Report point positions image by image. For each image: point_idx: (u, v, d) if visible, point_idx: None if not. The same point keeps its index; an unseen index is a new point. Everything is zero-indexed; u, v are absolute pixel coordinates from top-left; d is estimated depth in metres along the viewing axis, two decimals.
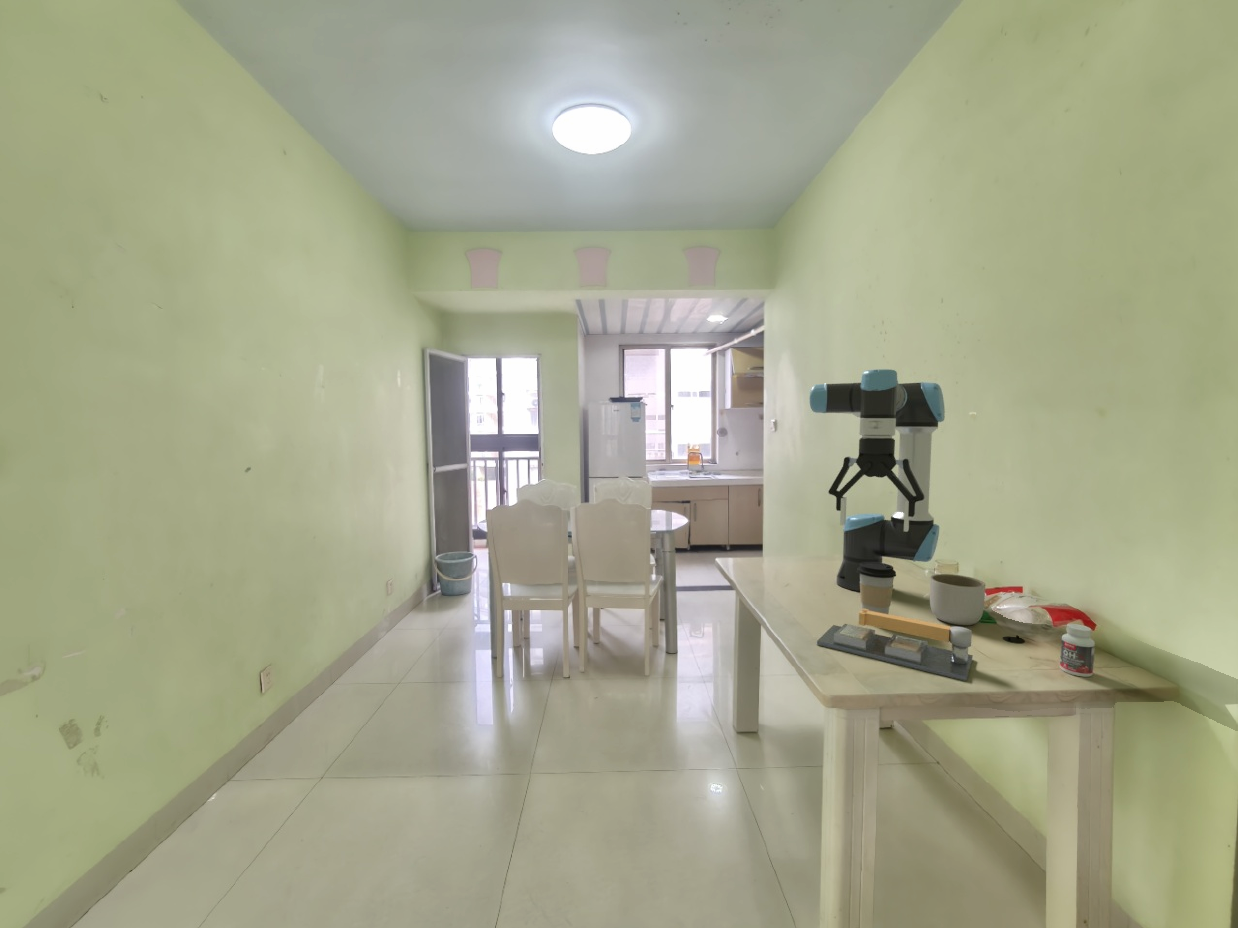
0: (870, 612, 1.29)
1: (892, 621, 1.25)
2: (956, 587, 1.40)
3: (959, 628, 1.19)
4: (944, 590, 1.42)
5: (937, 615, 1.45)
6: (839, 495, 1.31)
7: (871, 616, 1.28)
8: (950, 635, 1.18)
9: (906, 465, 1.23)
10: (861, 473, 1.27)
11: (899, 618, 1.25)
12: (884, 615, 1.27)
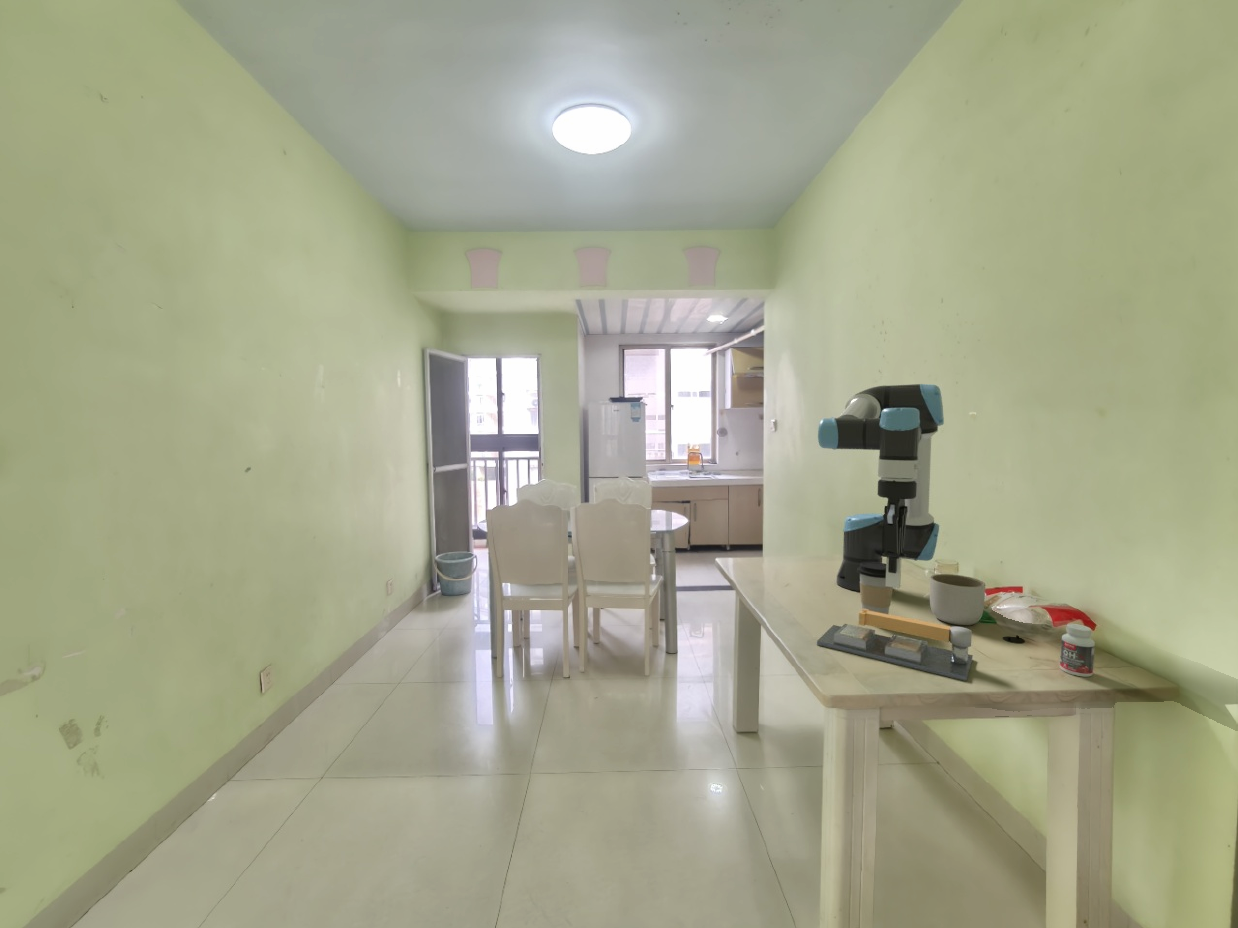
0: (870, 612, 1.29)
1: (892, 621, 1.25)
2: (956, 587, 1.40)
3: (959, 628, 1.19)
4: (944, 590, 1.42)
5: (937, 615, 1.45)
6: (899, 555, 1.18)
7: (871, 616, 1.28)
8: (950, 635, 1.18)
9: (906, 514, 1.22)
10: (903, 521, 1.17)
11: (899, 618, 1.25)
12: (884, 615, 1.27)
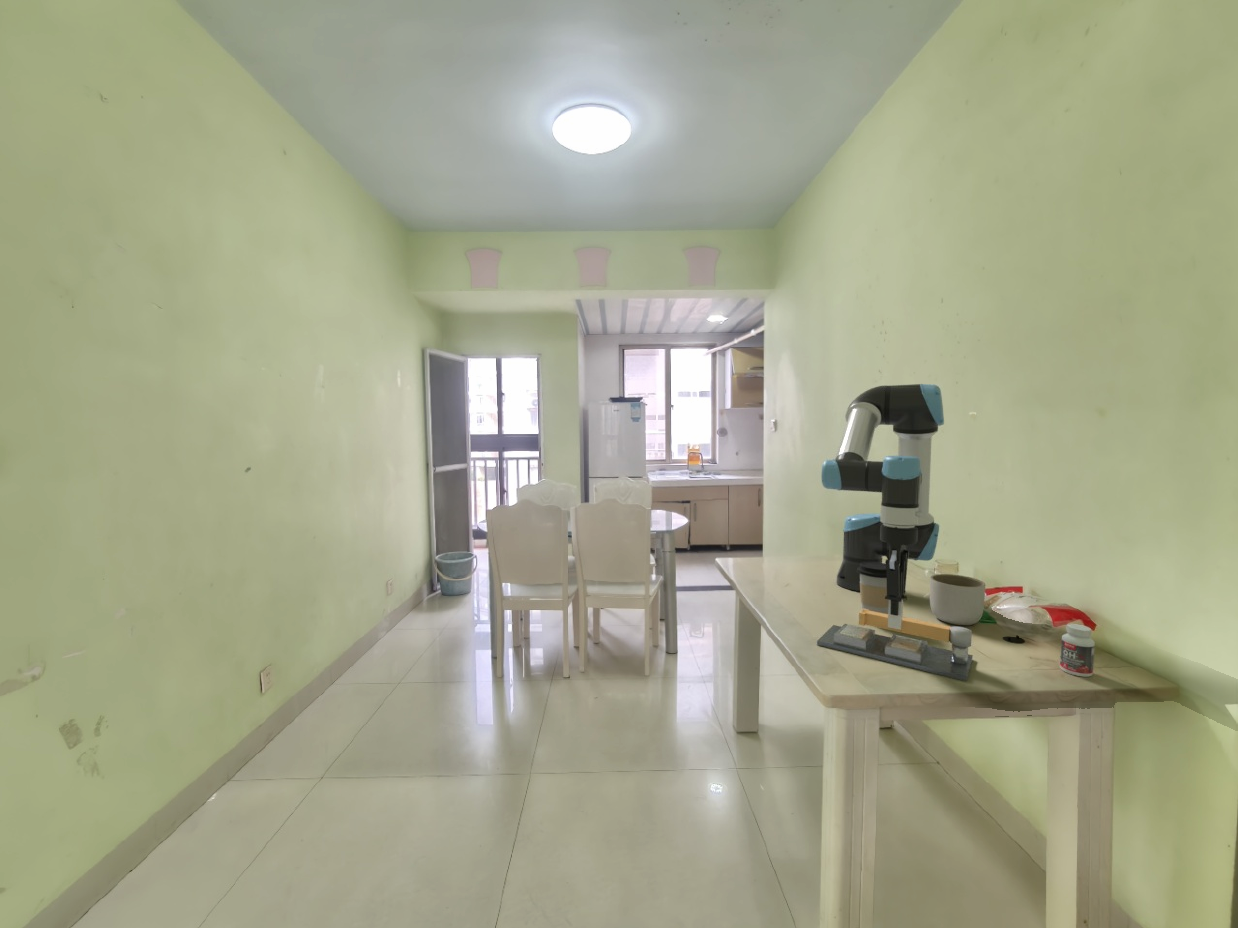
0: (870, 612, 1.29)
1: None
2: (956, 587, 1.40)
3: (959, 628, 1.19)
4: (944, 590, 1.42)
5: (937, 615, 1.45)
6: (901, 598, 1.22)
7: (871, 616, 1.28)
8: (950, 635, 1.18)
9: None
10: (904, 566, 1.21)
11: None
12: (884, 615, 1.27)
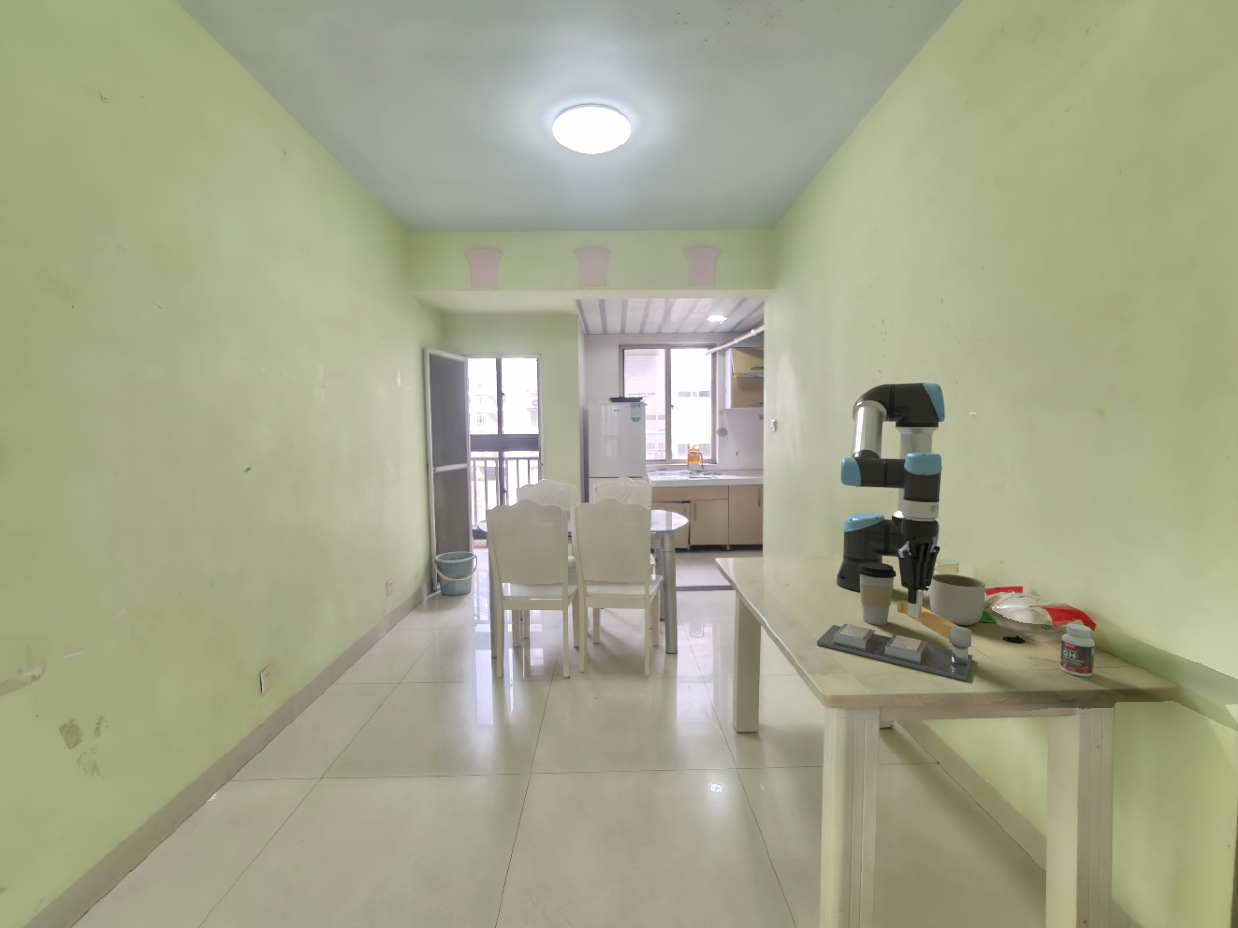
0: None
1: None
2: (956, 587, 1.40)
3: (963, 629, 1.18)
4: (944, 590, 1.42)
5: None
6: (918, 588, 1.28)
7: (906, 605, 1.35)
8: None
9: (937, 552, 1.30)
10: (921, 557, 1.27)
11: (925, 611, 1.30)
12: None
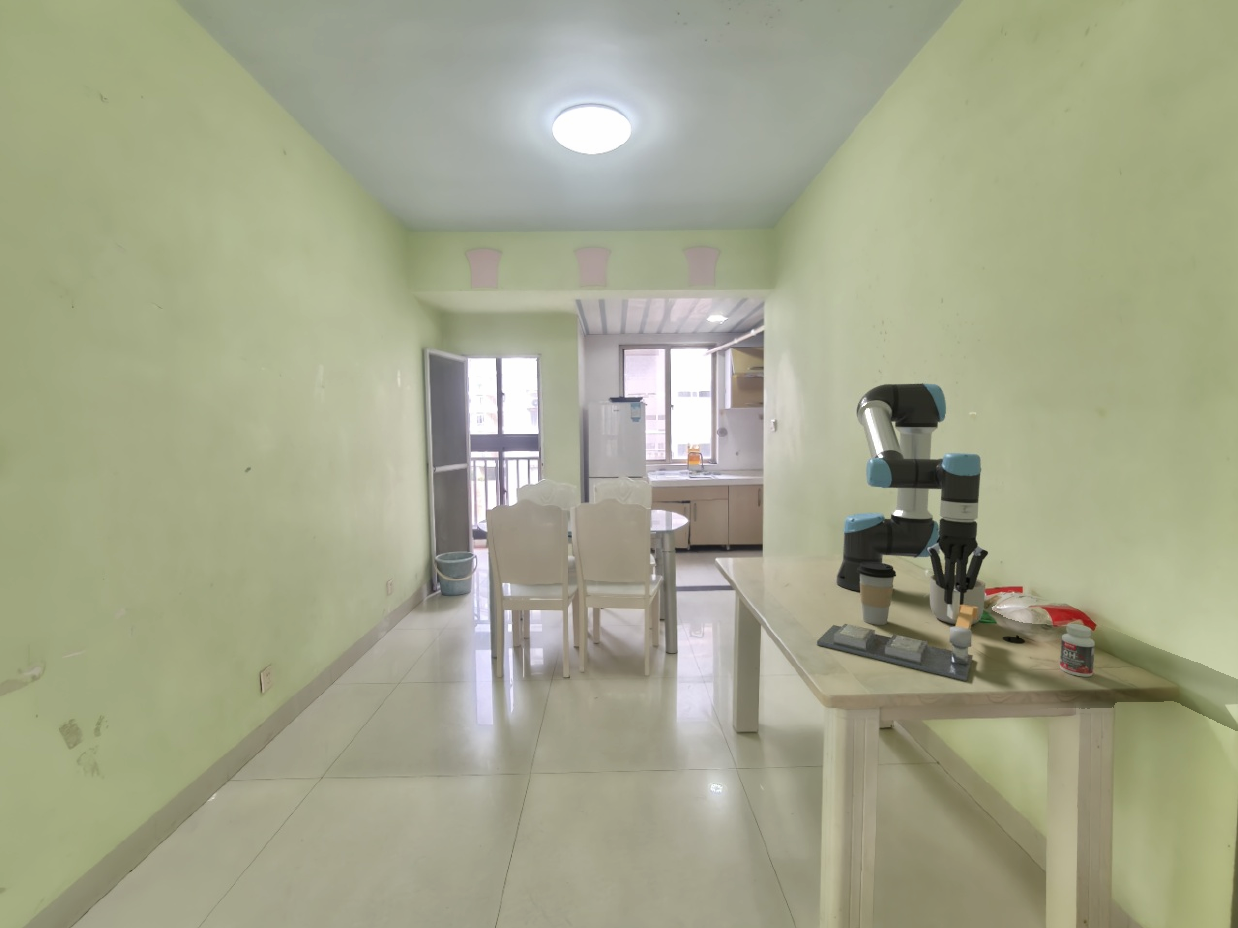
0: (968, 607, 1.32)
1: (959, 614, 1.29)
2: None
3: (965, 630, 1.18)
4: None
5: (937, 615, 1.45)
6: (952, 588, 1.28)
7: (961, 609, 1.33)
8: None
9: (983, 556, 1.27)
10: (954, 558, 1.27)
11: (964, 614, 1.27)
12: (966, 611, 1.30)
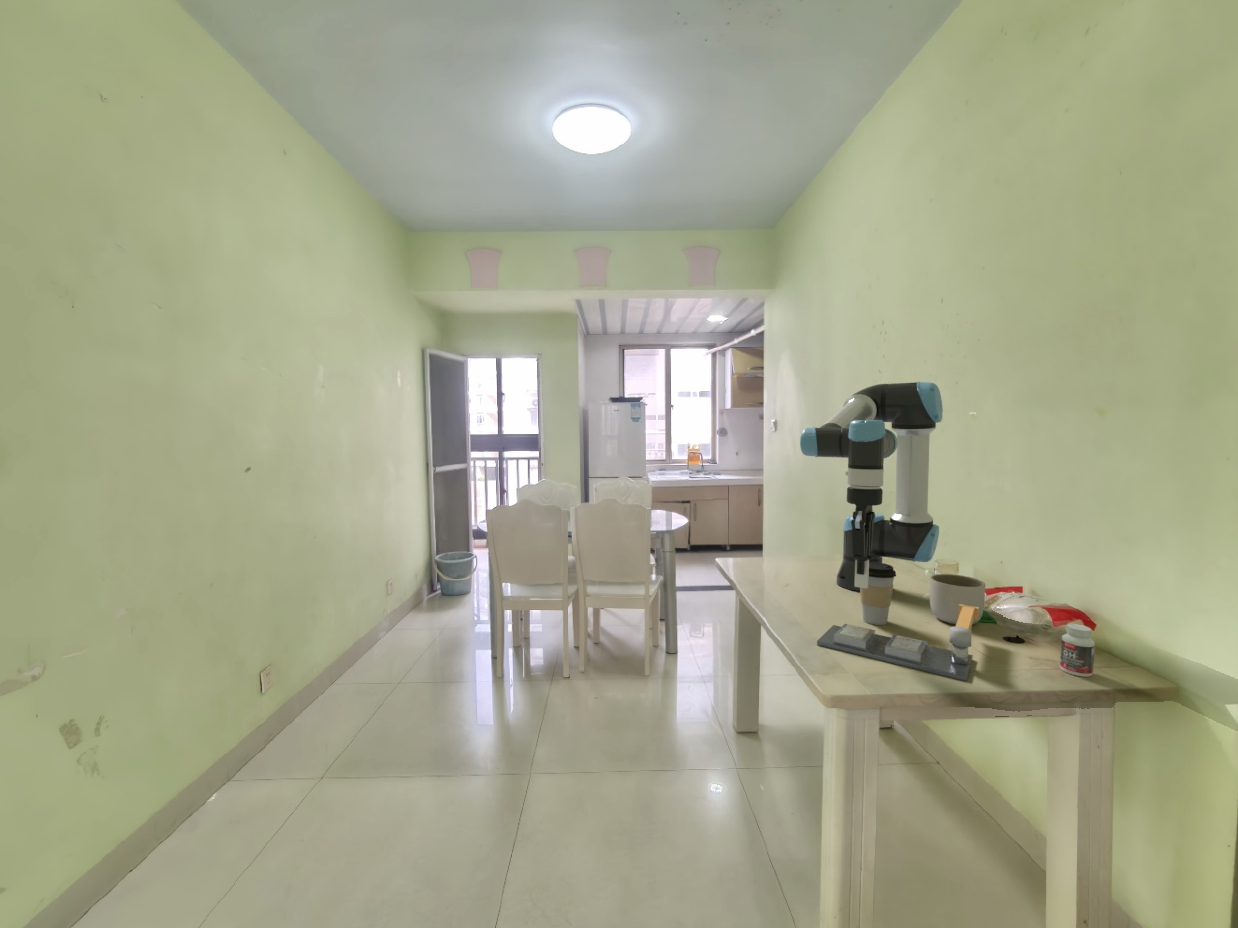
0: (969, 607, 1.32)
1: None
2: (956, 587, 1.40)
3: (965, 630, 1.18)
4: (944, 590, 1.42)
5: (937, 615, 1.45)
6: None
7: (962, 609, 1.33)
8: None
9: None
10: None
11: (964, 614, 1.27)
12: (967, 611, 1.30)
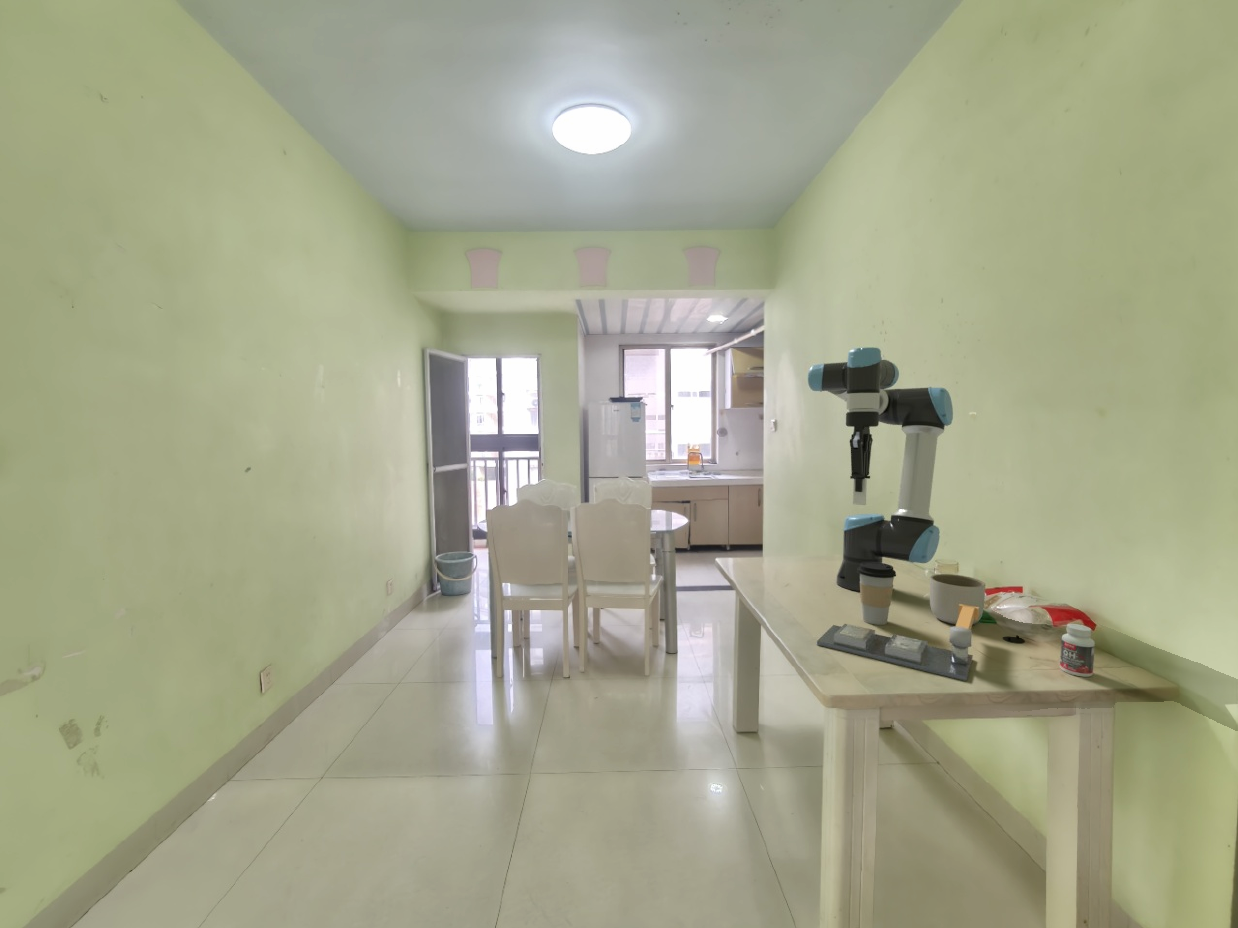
0: (969, 607, 1.32)
1: None
2: (956, 587, 1.40)
3: (965, 630, 1.18)
4: (944, 590, 1.42)
5: (937, 615, 1.45)
6: None
7: (962, 609, 1.33)
8: None
9: None
10: None
11: (964, 614, 1.27)
12: (967, 611, 1.30)
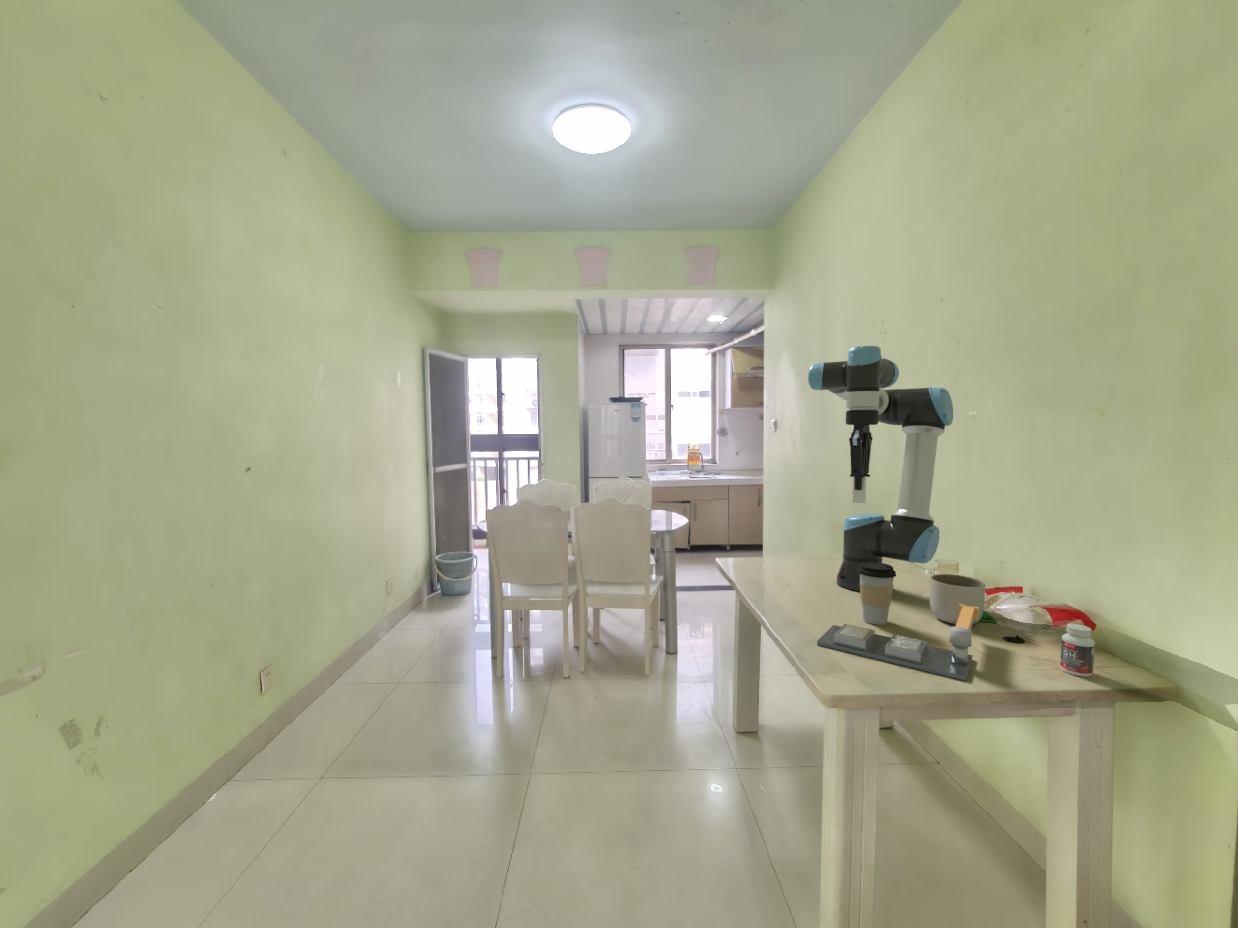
0: (969, 607, 1.32)
1: None
2: (956, 587, 1.40)
3: (965, 630, 1.18)
4: (944, 590, 1.42)
5: (937, 615, 1.45)
6: None
7: (962, 609, 1.33)
8: None
9: None
10: None
11: (964, 614, 1.27)
12: (967, 611, 1.30)
